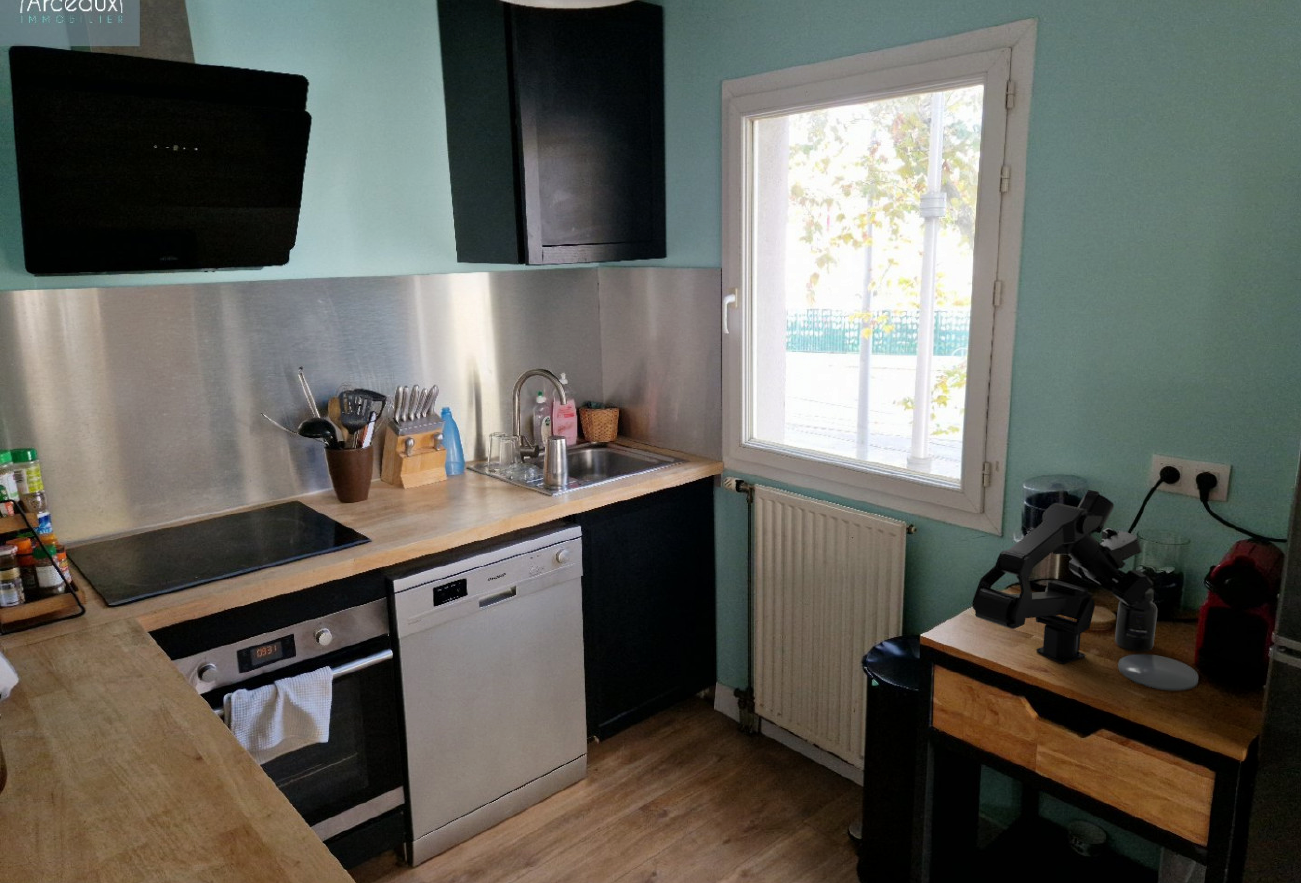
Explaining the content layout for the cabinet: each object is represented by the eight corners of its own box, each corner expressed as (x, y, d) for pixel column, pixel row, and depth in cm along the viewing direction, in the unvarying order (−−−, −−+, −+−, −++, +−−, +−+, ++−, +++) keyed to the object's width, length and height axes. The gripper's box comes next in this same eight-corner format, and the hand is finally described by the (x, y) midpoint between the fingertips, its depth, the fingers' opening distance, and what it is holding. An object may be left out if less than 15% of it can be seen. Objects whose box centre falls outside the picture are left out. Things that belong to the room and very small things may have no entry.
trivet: (1167, 697, 158) (1167, 693, 158) (1102, 667, 170) (1103, 663, 169) (1214, 680, 163) (1214, 676, 163) (1148, 652, 175) (1148, 648, 175)
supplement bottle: (1133, 655, 174) (1138, 597, 172) (1107, 640, 181) (1111, 585, 178) (1161, 649, 176) (1167, 592, 173) (1134, 635, 182) (1139, 580, 180)
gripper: (1148, 535, 163) (1197, 588, 167) (1086, 507, 182) (1132, 555, 185) (1104, 579, 164) (1154, 630, 168) (1047, 547, 182) (1093, 594, 186)
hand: (1133, 600), depth 177 cm, fingers open, 9 cm apart
